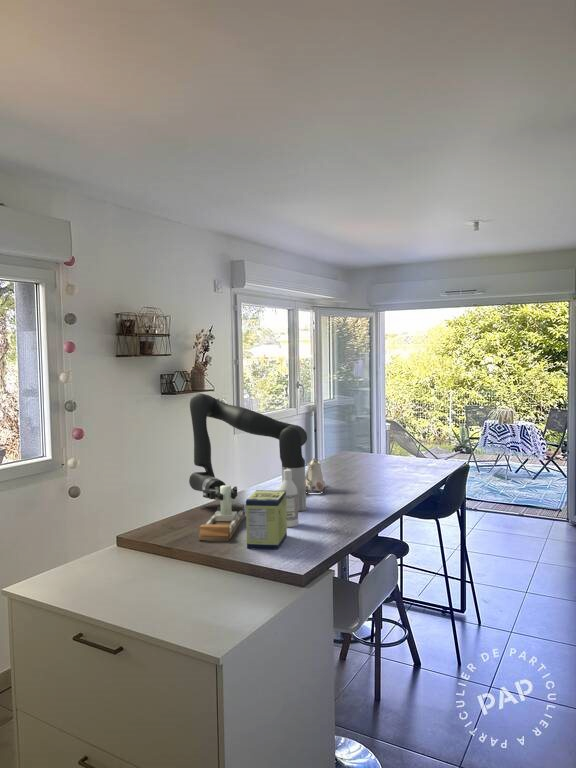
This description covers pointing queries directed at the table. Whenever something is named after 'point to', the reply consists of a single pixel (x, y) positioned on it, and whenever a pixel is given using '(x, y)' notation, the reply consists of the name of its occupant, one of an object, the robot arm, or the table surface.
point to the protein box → (266, 519)
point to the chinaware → (314, 477)
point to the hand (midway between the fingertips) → (228, 496)
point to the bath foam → (290, 498)
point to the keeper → (225, 505)
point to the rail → (221, 538)
